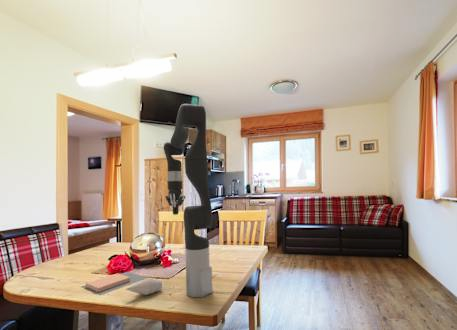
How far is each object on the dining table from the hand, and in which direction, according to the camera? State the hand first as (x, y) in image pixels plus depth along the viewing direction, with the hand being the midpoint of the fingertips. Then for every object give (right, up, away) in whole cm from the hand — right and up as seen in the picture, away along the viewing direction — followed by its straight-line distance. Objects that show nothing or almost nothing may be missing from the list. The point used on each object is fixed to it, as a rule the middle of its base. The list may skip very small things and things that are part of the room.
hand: (175, 214), depth 135 cm
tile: (-20, -25, -16) cm, 36 cm away
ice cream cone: (-5, -25, -33) cm, 42 cm away
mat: (-22, -26, -19) cm, 40 cm away
